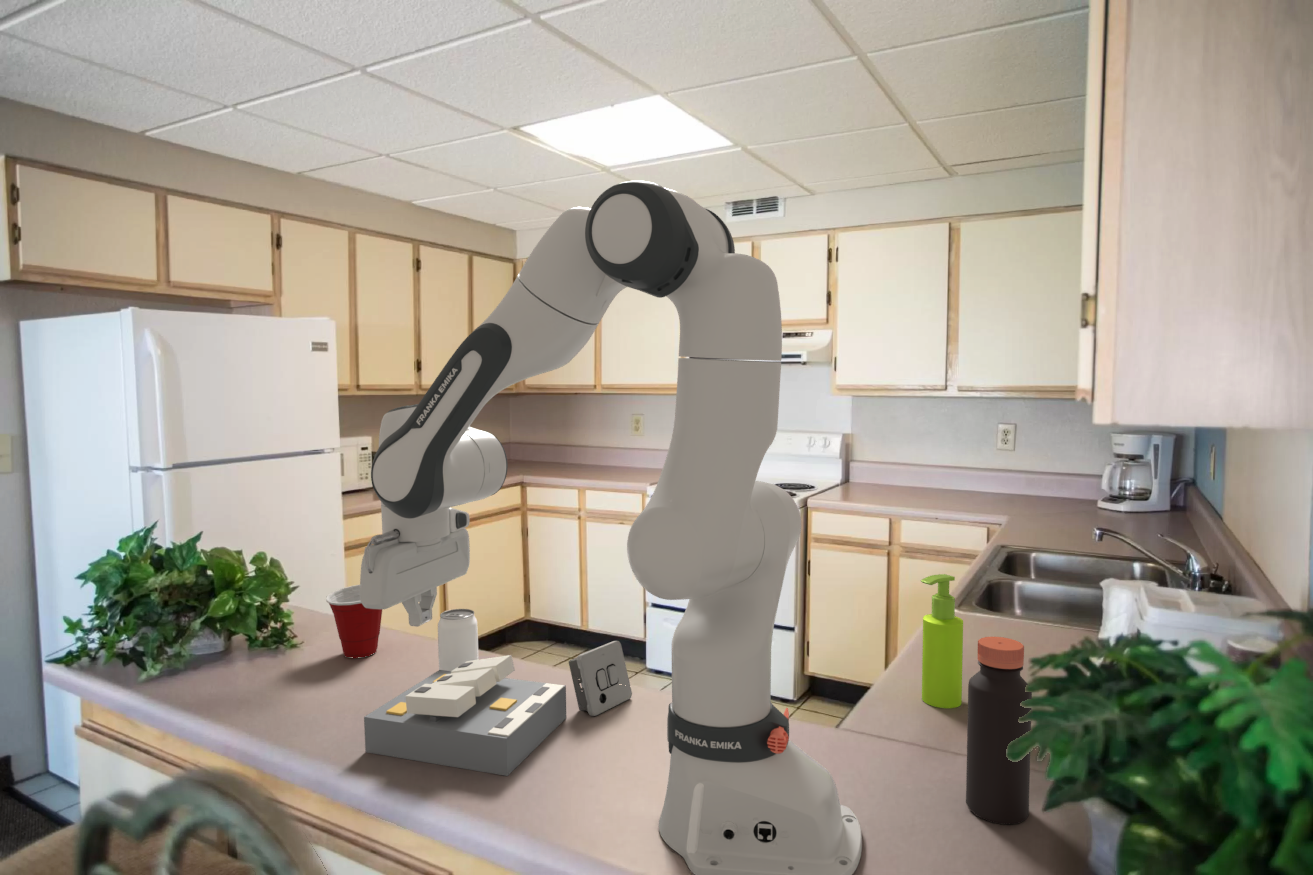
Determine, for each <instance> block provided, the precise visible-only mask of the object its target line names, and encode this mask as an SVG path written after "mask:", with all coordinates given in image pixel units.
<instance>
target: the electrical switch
mask: <svg viewBox="0 0 1313 875" xmlns="http://www.w3.org/2000/svg"><path fill="white" fill-rule="evenodd" d="M568 666H569V670H570V675H571V680H572V683H573V689H574V693H575V697H576V698H575V699H576V702H577V706H578V710H579V711H586V712H588V714H589V716H590V717H594V716H595V717H596V716H598V715H600V714H602V713H604V712H605V711H608V710H609V709H611V708H614V707H615V706H618V705H619V704H622V703H624V702H626V701H628V700H630V699H631V698H632V695H633V691H632V688H631V687H630V686H631V683H630V678H629V674H628V670H627V669H628V668H627V665H626V661H625V656H624V652H623V647H622V643H621V642H620V641H619V640H613V641H611V642H608V643H605V644H603V645H601V646H598V647H595V648H593V649H590V650H587V651H586V652H583V653H580V654H579V655H577V656H576V657H575V658H572V659H570V660H568ZM619 684H622V685H619ZM625 685H626V686H625Z"/></svg>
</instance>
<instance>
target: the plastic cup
mask: <svg viewBox="0 0 1313 875" xmlns="http://www.w3.org/2000/svg"><path fill="white" fill-rule="evenodd" d="M325 601H326V603H328V604H329V606H330V609H331V611H332V614H333V617H334V621H335V626H336V630H337V633H338V637H339V641H340V643H341V648H342V653H343V655H345V656H346V657H345V656H344V657H345V658H347V657H353V658H352V659H359V658H358V657H364V658H366V657H365V656H368V657H370V656H369V655H371V654H373V653H375V652H376V653H377V649H378V646H379V645H378V644H379V639H380V638H379V637H380V633H381V626H382V625H381V624H382V615H383V609H370V608H365V607H364V606H363V604H362V603H361V601H360V584H356V585H350V586H347V587H342V588H340V589H336V590H334V591H331V592H330V593H328V595H326V598H325ZM376 653H375V654H376ZM373 655H374V654H373ZM371 656H372V655H371Z"/></svg>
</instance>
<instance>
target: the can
mask: <svg viewBox="0 0 1313 875" xmlns="http://www.w3.org/2000/svg"><path fill="white" fill-rule="evenodd" d="M439 617H440V618H439V619H438V620H439V621H438V623H437V647H438V648H437V650H438V652H437V653H438V671H439V670H445V671H452V670H454V669H456V668H457V667H459V666H460V665H462V664H463V663H465V662H466V661H472V660H479V633H478V632H479V629H478V619H477V617H476V616H475V611H474V610H473V609H469V608H454V609H448V610H444V611H443V612H441V613H440V614H439Z"/></svg>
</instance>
